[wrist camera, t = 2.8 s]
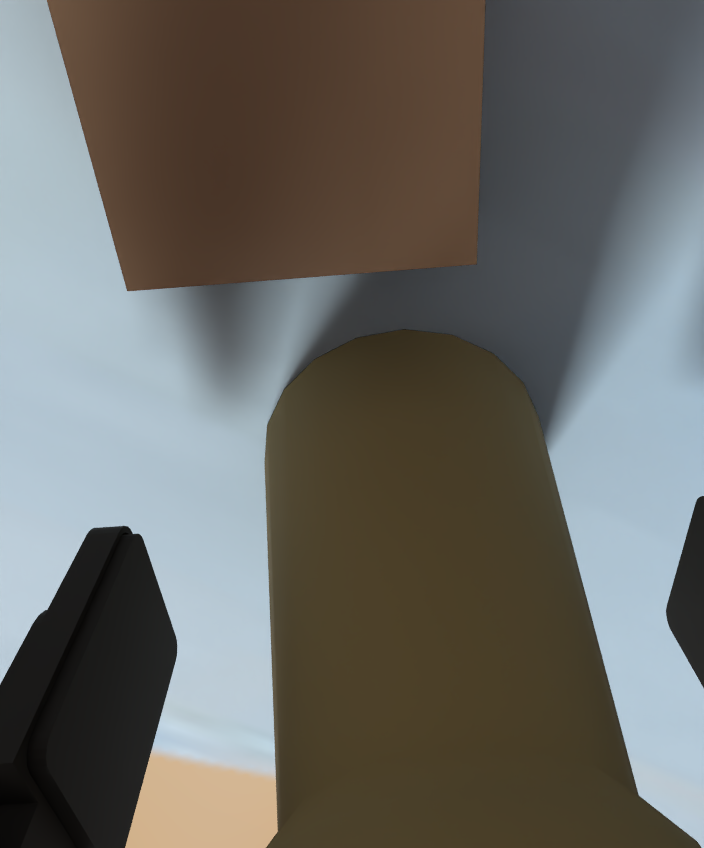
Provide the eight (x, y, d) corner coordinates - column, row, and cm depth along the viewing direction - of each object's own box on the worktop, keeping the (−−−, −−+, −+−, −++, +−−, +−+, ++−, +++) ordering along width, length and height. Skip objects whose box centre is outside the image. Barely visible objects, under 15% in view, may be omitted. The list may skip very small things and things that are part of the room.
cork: (216, 384, 12) (-170, 1415, 3) (509, 287, 11) (1269, 1370, 2) (323, 584, 15) (292, 1412, 6) (562, 520, 14) (969, 1394, 5)
